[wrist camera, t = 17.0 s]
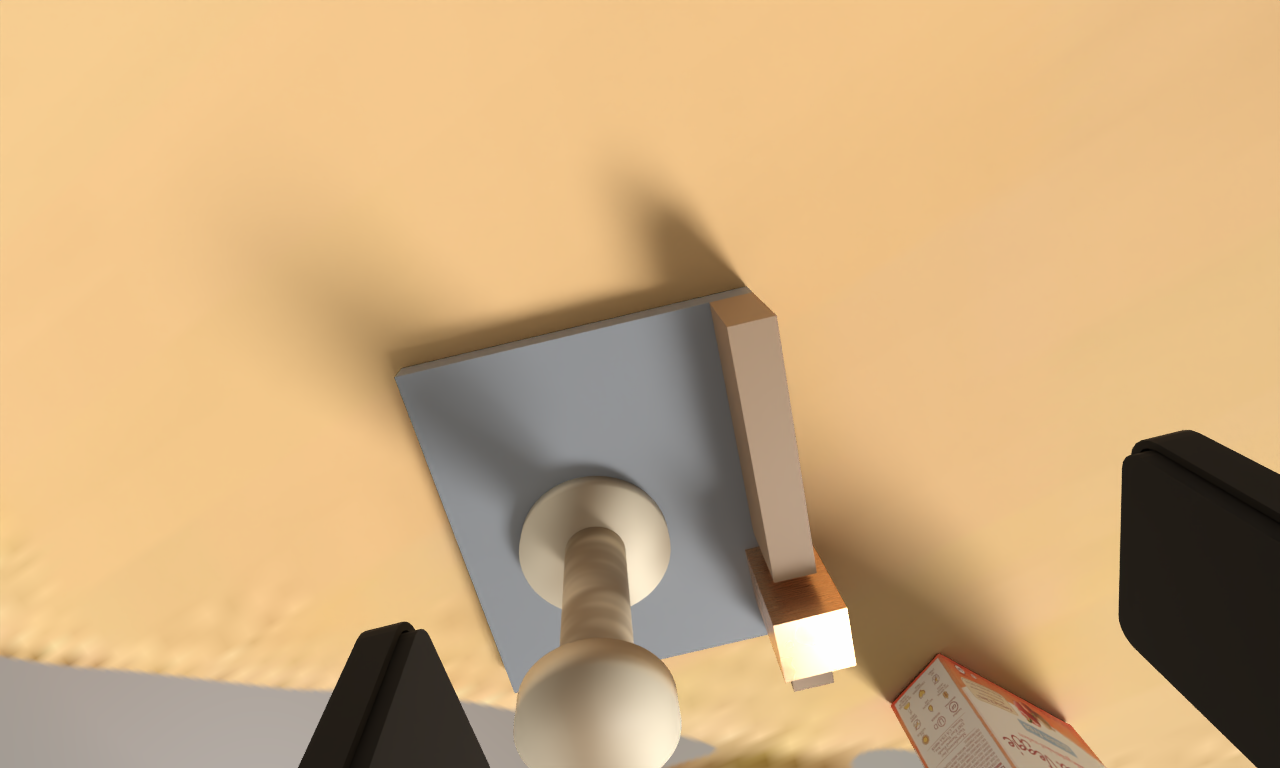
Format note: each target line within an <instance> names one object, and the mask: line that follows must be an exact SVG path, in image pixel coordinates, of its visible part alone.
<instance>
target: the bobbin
mask: <svg viewBox="0 0 1280 768" xmlns="http://www.w3.org/2000/svg"><path fill="white" fill-rule="evenodd" d="M670 553H671V546H670V538H669V533H668V528H667V523H666V520H665V517H664V515H663V513H662V511H661V509H660V508H659V506H658V505H657V503H656V502H655V501H654V500H653V499H652V498H651V497H650V496H649V495H648V494H647V493H646V492H644V491H643V490H642V489H640V488H639V487H637V486H635V485H633V484H631V483H629V482H627V481H624V480H621V479H617V478H613V477H607V476H586V477H580V478H575V479H572V480H569V481H566V482H563V483H561V484H559V485H557V486H555V487H554V488H552V489H550V490H549V491H547V492H546V493H545V494H544V495H542V496H541V497H540V498H539V499H538V500H537V501H536V502H535V504H534V505H533V506H532V508H531V509H530V511H529V513H528V514H527V516H526V518H525V521H524V524H523V527H522V532H521V538H520V544H519V559H520V565H521V568H522V571H523V574H524V576H525V578H526V580H527V581H528V583H529V585H530V586H531V587H532V588H533V590H534V591H535V592H536V593H537V594H538V595H539V596H541V597H542V598H543V599H544V600H546V601H547V602H549V603H550V604H552V605H554V606H556V607H558V608H560V609H562V614H561V632H560V647H558V648H556V649H554V650H552V651H551V652H549V653H547V654H546V655H544V656H543V657H542V658H540V659H539V660H538V661H537V662H536V663H535V664H534V665H533V666H532V667H531V668H530V670H529V671H528V672H527V674H526V675H525V677H524V679H523V680H522V683H521V685H520V688H519V692H518V696H517V704H516V711H515V719H514V730H513V735H514V742H515V745H516V749H517V751H518V753H519V755H520V757H521V759H522V760H523V761H524V763H525V764H526V765H527V766H528V767H529V768H661V767H662V766H663V765H664V764H665V763H666V762H667V761H668V759H669V758H670V756H671V755H672V754H673V752H674V750H675V748H676V746H677V744H678V741H679V738H680V734H681V715H680V708H679V702H678V696H677V690H676V684H675V682H674V679H673V676H672V674H671V673H670V671H669V669H668V668H667V667H666V665H665V664H664V663H663V662H662V661H661V660H660V659H659V658H658V657H657V656H656V655H654V654H653V653H651V652H650V651H648V650H647V649H645V648H643V647H641V646H639V645H636V644H634V640H633V628H632V617H631V606H632V605H634V604H636V603H638V602H639V601H641V600H642V599H644V598H645V597H646V596H648V595H649V594H650V593H651V592H652V591H653V590H654V589H655V588H656V586H657V585H658V584H659V583H660V581H661V579H662V578H663V576H664V574H665V572H666V570H667V567H668V564H669V560H670Z"/></svg>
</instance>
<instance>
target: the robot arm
mask: <svg viewBox="0 0 1280 768" xmlns="http://www.w3.org/2000/svg"><path fill="white" fill-rule="evenodd" d="M1119 622H1120V625H1121V628H1122V631H1123V633H1124V635H1125V636H1126V638H1127V639H1128V641H1129V642H1130V644H1131V645H1132V646H1133V647H1134V648H1135V649H1136V650H1137V651H1138V652H1139V653H1140V654H1141V655H1142V656H1143V657H1144V658H1145V659H1146V660H1147V661H1148V662H1149V663H1150V664H1151V665H1152V666H1153V667H1154V668H1155V669H1156V670H1157V671H1158V672H1160V673H1161V674H1162V675H1163V676H1164V677H1165V678H1166V679H1167V680H1168V681H1169V682H1170V683H1171V684H1172V685H1173V686H1174V687H1175V688H1176V689H1177V690H1178V691H1179V692H1180V693H1181V694H1182V695H1183V696H1184V697H1185V698H1186V699H1187V700H1188V701H1189V702H1190V703H1191V704H1192V705H1193V706H1194V707H1195V708H1196V709H1197V710H1199V711H1200V712H1201V713H1202V714H1203V715H1204V716H1205V717H1206V718H1207V719H1208V720H1209V721H1210V722H1211V723H1212V724H1213V725H1214V726H1215V727H1216V728H1217V729H1218V730H1219V731H1220V732H1221V733H1222V734H1223V735H1224V736H1225V737H1226V738H1227V739H1228V740H1229V741H1230V742H1231V743H1232V744H1233V745H1234V746H1235V747H1236V748H1238V749H1239V750H1240V751H1241V752H1242V753H1243V754H1244V755H1245V756H1246V757H1247V758H1248V759H1249V760H1250V761H1251V762H1252V763H1253V764H1254V765H1255V766H1256V767H1257V768H1280V474H1278V473H1276V472H1274V471H1272V470H1270V469H1268V468H1266V467H1264V466H1262V465H1260V464H1258V463H1256V462H1255V461H1253V460H1251V459H1249V458H1247V457H1245V456H1243V455H1241V454H1239V453H1237V452H1235V451H1233V450H1231V449H1229V448H1227V447H1225V446H1223V445H1221V444H1219V443H1218V442H1216V441H1214V440H1212V439H1210V438H1208V437H1206V436H1204V435H1202V434H1200V433H1197V432H1195V431H1192V430H1182V431H1178V432H1174V433H1170V434H1166V435H1162V436H1158V437H1153V438H1149V439H1145V440H1141V441H1140V442H1138V443H1136V444H1135V446H1134V447H1133V449H1132V453H1131V455H1129V456H1128V457H1126V458H1125V460H1124V461H1123V465H1122V494H1121V536H1120V578H1119ZM298 768H490V766H489V764H488V762H487V760H486V757H485V755H484V753H483V751H482V749H481V747H480V744H479V742H478V740H477V738H476V736H475V734H474V732H473V729H472V727H471V725H470V723H469V721H468V718H467V716H466V714H465V712H464V710H463V708H462V706H461V703H460V701H459V699H458V697H457V695H456V693H455V690H454V688H453V686H452V684H451V682H450V680H449V677H448V675H447V673H446V671H445V669H444V667H443V665H442V662H441V660H440V658H439V656H438V654H437V652H436V649H435V647H434V645H433V643H432V641H431V639H430V637H429V635H428V633H427V632H426V631H425V630H424V629H419V630H415V629H414V628H413V626H412V625H411V624H410V623H408V622H400V623H396V624H392V625H388V626H384V627H380V628H376V629H372V630H368V631H365V632H363V633H361V634H360V636H359V637H358V639H357V641H356V643H355V645H354V647H353V649H352V652H351V654H350V656H349V658H348V660H347V662H346V665H345V667H344V669H343V671H342V673H341V675H340V678H339V680H338V682H337V684H336V686H335V689H334V691H333V693H332V695H331V697H330V699H329V702H328V704H327V706H326V709H325V710H324V712H323V715H322V717H321V719H320V721H319V724H318V726H317V728H316V730H315V732H314V735H313V736H312V739H311V741H310V743H309V745H308V747H307V750H306V752H305V754H304V756H303V758H302V760H301V763H300V765H299V767H298Z"/></svg>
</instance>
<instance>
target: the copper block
mask: <svg viewBox="0 0 1280 768" xmlns="http://www.w3.org/2000/svg"><path fill="white" fill-rule="evenodd" d="M812 545H813V544H812ZM813 551H814V558H815V564H816V571H817V573H815V574H811V575H807V576H802V577H798V578H794V579H789V580H785V581H781V582H777V583H774V581H773V579H772V576H771V574H770V571H769V569H768V566H767V564H766V562H765V559H764V557H763V554H762V552H761V549H760V547H759V546H758V547H754V548H750V549H746V550H745V553H746V558H747V562H748V567H749V571H750V576H751V580H752V585H753V589H754V594H755V598H756V602H757V605H758V608H759V610H760V613H761V616H762V619H763V621H764V624H765V627H766V630H767V633H768V635H769V638H770V641H771V644H772V647H773V649H774V652H775V655H776V658H777V661H778V663H779V666H780V669H781V672H782V674H783V677H784V680H785V683H786V682H790V681H794V680H798V679H803V678H807V677H811V676H815V675H819V674H823V673H827V672H831V671H835V670H839V669H843V668H847V667H852V666H856V660H855V654H854V648H853V641H852V635H851V629H850V623H849V617H848V610H847V607H846V605H845V603H844V601H843V599H842V598H841V596H840V594H839V592H838V590H837V588H836V587H835V585H834V583H833V581H832V579H831V577H830V576H829V574H828V572H827V570H826V568H825V566H824V565H823V563H822V561H821V559H820V557H819V555H818V554H817V552H816V550H815V548H814V546H813Z"/></svg>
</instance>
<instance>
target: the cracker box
mask: <svg viewBox="0 0 1280 768" xmlns="http://www.w3.org/2000/svg"><path fill="white" fill-rule="evenodd" d="M891 707H892V709H893V711H894V713H895V715H896V716H897V718H898V720H899V722H900V724H901V726H902V728H903V729H904V731H905V733H906V735H907V737H908V738H909V740H910V742H911V744H912V746H913V748H914V750H915V752H916V754H917V756H918V757H919V759H920V761H921V763H922V765H923V767H924V768H1106V767H1105V766H1104V765H1103V763H1102V762H1101V761H1100V760H1099V758H1098V757H1097V756H1096V755H1095V754H1094V752H1093V751H1092V750H1091V749H1090V748H1089V746H1088V745H1087V744H1086V743H1085V742H1084V740H1083V739H1082V738H1081V737H1080V736H1079V734H1078V733H1077V732H1076V731H1075V730H1074V729H1073V727H1072V726H1071V725H1070V724H1067V723H1065V722H1064V721H1062V720H1060V719H1058V718H1056V717H1054V716H1052V715H1051V714H1049V713H1047V712H1045V711H1043V710H1042V709H1040V708H1038V707H1036V706H1034V705H1032V704H1031V703H1029V702H1027V701H1025V700H1023V699H1021V698H1020V697H1018V696H1016V695H1014V694H1012V693H1010V692H1009V691H1007V690H1005V689H1003V688H1001V687H999V686H998V685H996V684H994V683H992V682H990V681H989V680H987V679H985V678H983V677H981V676H979V675H978V674H976V673H974V672H972V671H970V670H969V669H967V668H965V667H963V666H961V665H960V664H958V663H956V662H954V661H952V660H951V659H949V658H947V657H945V656H943V655H941V654H938V655H937V656H936V657H935V658H934V659H933V660H932V661H931V662H930V663H929V665H928V666H927V667H926V668H925V669H924V670H923V671H922V672H921V673H920V674H919V675H918V676H917V677H916V678H915V680H914V681H913V682H912V683H911V684H910V685H909V686H908V687H907V688H906V689H905V690H904V691H903V692H902V693H901V694H900V696H899V697H898V698H897V699H896V700H895V701H894V702H893V703H892V704H891Z"/></svg>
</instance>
